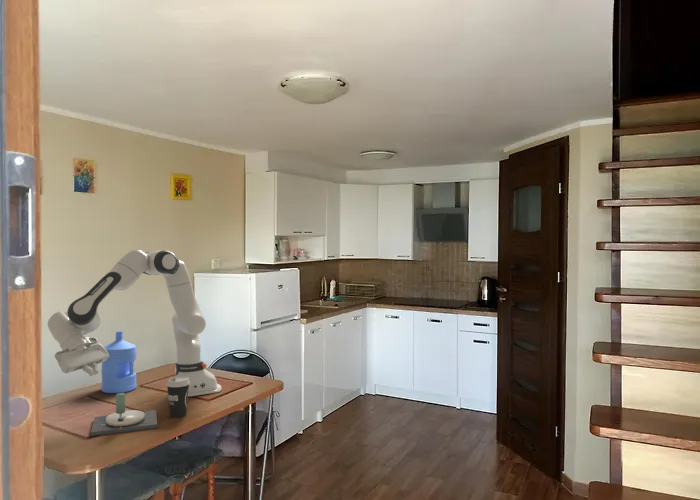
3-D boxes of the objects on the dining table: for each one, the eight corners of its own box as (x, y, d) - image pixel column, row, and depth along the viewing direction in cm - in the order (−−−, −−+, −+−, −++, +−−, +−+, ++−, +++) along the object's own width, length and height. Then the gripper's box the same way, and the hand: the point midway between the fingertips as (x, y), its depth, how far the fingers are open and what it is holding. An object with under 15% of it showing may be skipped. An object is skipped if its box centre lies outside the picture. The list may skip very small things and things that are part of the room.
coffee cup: (171, 411, 218) (171, 375, 218) (193, 411, 218) (193, 376, 218) (162, 418, 209) (162, 381, 209) (185, 419, 208) (185, 382, 208)
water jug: (94, 393, 244) (94, 334, 243) (113, 384, 259) (113, 329, 259) (125, 394, 242) (125, 335, 241) (142, 385, 257) (142, 329, 257)
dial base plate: (156, 413, 215) (155, 409, 215) (157, 428, 198) (157, 423, 198) (94, 420, 206) (94, 416, 206) (90, 436, 189) (90, 431, 189)
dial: (113, 414, 208) (113, 385, 208) (149, 413, 210) (149, 384, 210) (99, 426, 194) (99, 395, 194) (138, 425, 196) (138, 394, 196)
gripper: (56, 348, 194) (76, 376, 191) (100, 337, 213) (118, 362, 210) (48, 358, 196) (67, 386, 193) (92, 346, 215) (110, 372, 212)
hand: (94, 374), depth 202 cm, fingers closed
